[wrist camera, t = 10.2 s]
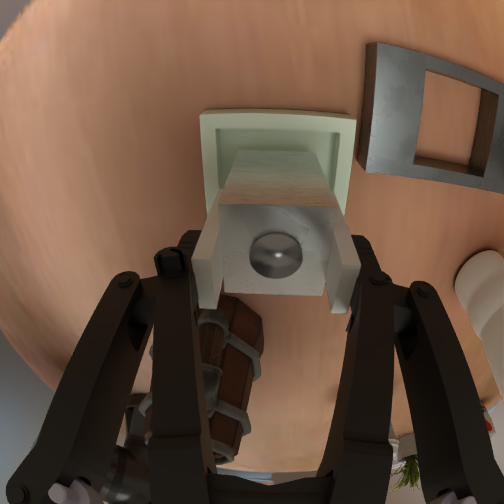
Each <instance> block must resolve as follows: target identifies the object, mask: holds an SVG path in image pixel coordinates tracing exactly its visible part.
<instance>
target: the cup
mask: <svg viewBox="0 0 504 504" xmlns="http://www.w3.org/2000/svg"><path fill="white" fill-rule="evenodd" d="M480 403H481V406H482V409H483V413H484V417H485V420H486V424H487V428H488V432H489V436H490V438H491V437H492V436H493V435H495V434H496V432H495V429H494V426H493V423H492V420H491V418H490V416H489V414H488V412H487V410H486V408H485V406H484V405H483V404H482V402H481V401H480Z"/></svg>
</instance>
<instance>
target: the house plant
mask: <svg viewBox="0 0 504 504" xmlns="http://www.w3.org/2000/svg"><path fill="white" fill-rule="evenodd" d="M398 441H399V443H398V462H403V461H406V463H405V466H404V467H403V468H402V469H401V471H400V472H403V474H402V476H404V477H403V479H402V480H401V482H400V484H399V485H398V486H397V487H398V489H397V490H399V489H400V488H401V487H402V486H403V484H404V483H405V485H404V486H406V485H407V484H408V481H409V483H410V487H411V489H412V490H414V489H413V486H417V487H418V485H417V480H418V479H419V472H418V468H419V464H418V463H417V462H416V460H417V461H418V458H417V457H418V456H417V449H416V443H415V436H414V433H411V434H407V435H404V436H402V437H400V438H399V439H398ZM415 459H416V460H415ZM402 464H403V463H402ZM400 467H401V466H400ZM400 467H399V468H400ZM417 467H418V468H417ZM403 469H404V470H403ZM400 472H399V473H400ZM394 474H395V473H394ZM396 474H398V473H396ZM402 476H401V477H402ZM396 484H397V483H396ZM396 484H395V485H396ZM397 487H396V488H397ZM396 488H395V489H396ZM418 489H419V487H418ZM392 491H393V490H392Z"/></svg>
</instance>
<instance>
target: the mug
mask: <svg viewBox="0 0 504 504" xmlns="http://www.w3.org/2000/svg"><path fill="white" fill-rule="evenodd" d="M196 310H197V317H198V329H199V341H200V352H201V362H202V372H203V381H204V390H205V398H206V406H207V414H208V422H209V429H210V436H211V443H212V450H213V456H214V460H215V464H216V465H222V464H225V463H229V462H232V461H234V456H236V455H237V454H238V451H239V446H240V442H241V438H242V436H244V435H247V434H249V433H250V432H251V424H250V421H249V417H248V414H247V412H246V410H247V406H248V401H249V396H250V391H251V387H252V382H254V381H255V380H256V379H258V378H259V377H260V376H261V367H260V360H259V359H260V357H261V355H262V353H263V346H264V337H263V328H262V319H261V318H260V317H259V316H258V315H257V314H255V313H254V312H253V311H252V310H250V309H249V308H248V307H247V306H246V305H244V304H243V303H242V302H241V301H239V300H238V299H237V298H232V297H227V296H222V295H219V299H218V304H217V309H204V308H199V302H197V306H196ZM149 354H150V356H151V357H152V359H153V345H152V346H151V348H150V351H149ZM139 411H140V412H141V413H142V414H143V415H144V416H145V423H144V433H143V436H144V437H145V438H146V439H145V444H146V445H147V446H148V440H149V438H150V437H151V436H152V433H153V420H152V380H151V386H150V392H149V393H148V394H147V395H146V397H145V398H144V399H143V401H142V402H141V403H140V405H139Z"/></svg>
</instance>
